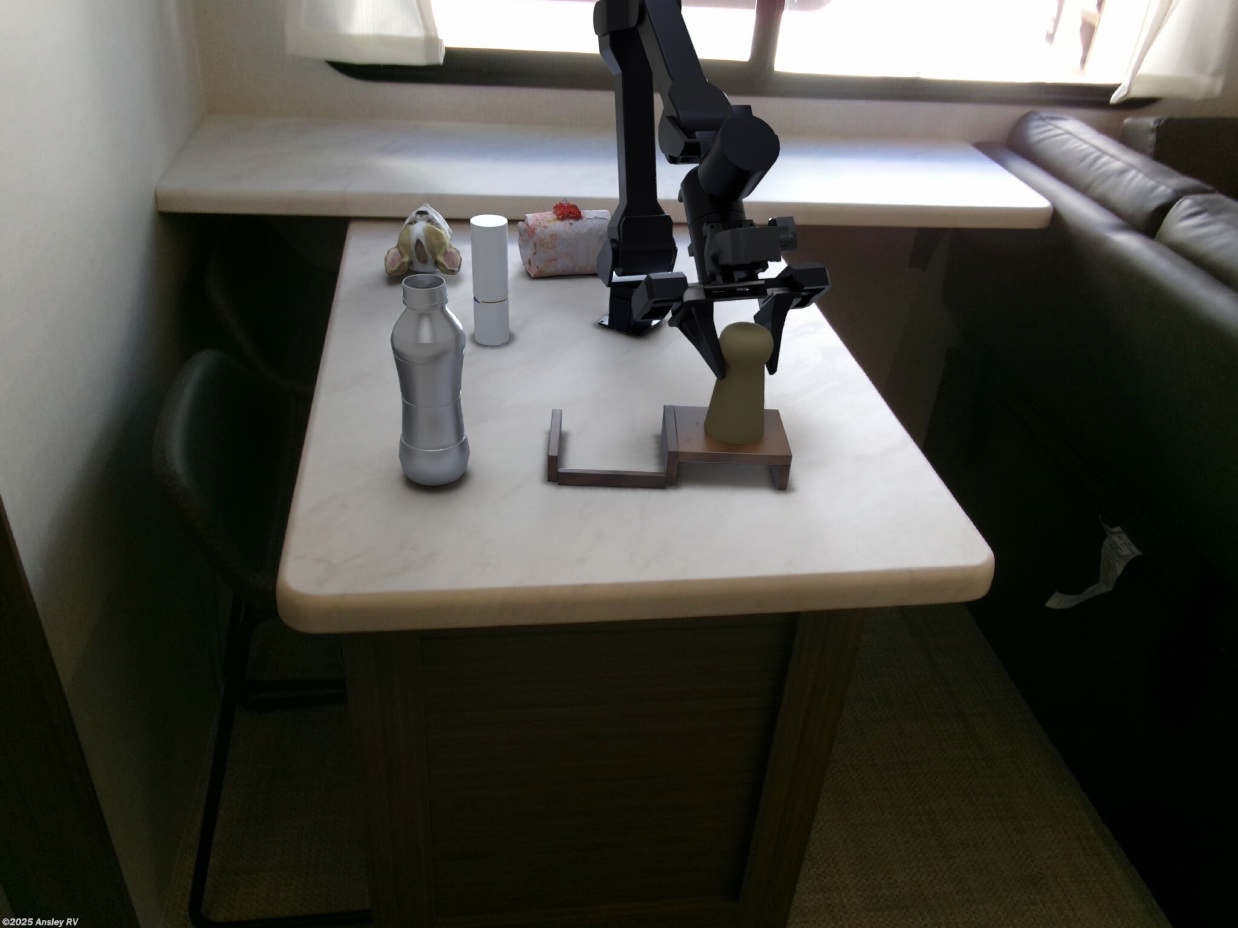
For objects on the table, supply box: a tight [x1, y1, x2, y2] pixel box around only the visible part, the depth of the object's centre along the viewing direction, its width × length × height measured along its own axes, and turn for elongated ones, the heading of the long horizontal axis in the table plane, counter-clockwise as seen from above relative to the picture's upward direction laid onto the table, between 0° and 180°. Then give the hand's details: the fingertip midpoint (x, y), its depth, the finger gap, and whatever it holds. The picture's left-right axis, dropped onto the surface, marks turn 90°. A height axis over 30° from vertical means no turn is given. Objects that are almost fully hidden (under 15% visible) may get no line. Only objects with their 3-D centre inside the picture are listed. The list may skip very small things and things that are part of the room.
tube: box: [469, 214, 510, 346], centre depth 115 cm, size 4×4×15 cm
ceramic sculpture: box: [383, 202, 463, 276], centre depth 135 cm, size 11×9×15 cm
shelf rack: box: [546, 404, 793, 490], centre depth 95 cm, size 24×10×4 cm, turn 90°
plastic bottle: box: [390, 273, 471, 487], centre depth 87 cm, size 6×7×20 cm
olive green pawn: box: [704, 321, 774, 444], centre depth 92 cm, size 6×6×11 cm
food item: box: [516, 197, 613, 278], centre depth 136 cm, size 14×8×10 cm, turn 104°
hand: (747, 376), depth 90 cm, fingers closed on olive green pawn, 5 cm apart
